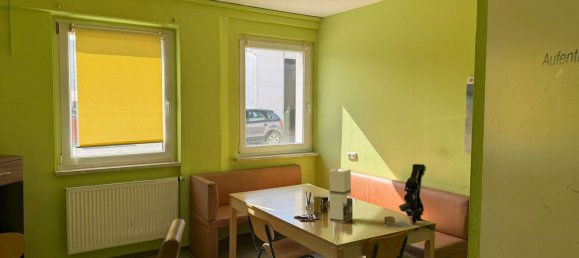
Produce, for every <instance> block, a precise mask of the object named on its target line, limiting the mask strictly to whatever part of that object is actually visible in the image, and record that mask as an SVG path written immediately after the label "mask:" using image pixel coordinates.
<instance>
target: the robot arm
mask: <svg viewBox="0 0 579 258" xmlns="http://www.w3.org/2000/svg"><path fill="white" fill-rule="evenodd" d="M411 169H412V170H411V174H410V177H409V178H407V180H406V182H405V186H404V192H406V193H405V194H404V196H403V199H404V201H405V202H404V203H401V204H399V205H398V208H399V211H401V212H403V213H405V214H406V217H407V216H412V220H413V224H412V225H416V224H415V222H416V221H417V222H418V221H424V220H423V218H422V216H423V215H424V212H425V206H424V204H423V201H422V199H421V191H422V181H423V179H422V178H423V176H425V172H426V171H427V166H426V165H425V164H423V163H422V164H421V163H413V164H412V167H411Z"/></svg>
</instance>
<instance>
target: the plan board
mask: <svg viewBox="0 0 579 258" xmlns="http://www.w3.org/2000/svg"><path fill="white" fill-rule="evenodd" d="M379 224H380V225H382V226H383V227H385V228H386V229H389V228H402V227H405V228H406V227H411V226H412V224H409V223H407V222H406V221H395V226H386V225H385V224H384V222H380V223H379Z"/></svg>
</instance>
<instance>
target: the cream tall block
mask: <svg viewBox="0 0 579 258" xmlns="http://www.w3.org/2000/svg"><path fill="white" fill-rule="evenodd" d="M351 172H352V170H351V169H349V168H348V169H347V170H339V168H334V169H330V170H329V221H330V222H331V221H335V222H334V223H339V222H341V224H345V223H347V222H349V221H351V220H352V216H349V215H344V208H345V207H347V206H348V204H347V203H348V201H347V200H348V199H347V198H348V196H349V195H351V194H352V179H351V177H352V175H351Z"/></svg>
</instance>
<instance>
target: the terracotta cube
mask: <svg viewBox="0 0 579 258" xmlns="http://www.w3.org/2000/svg"><path fill="white" fill-rule="evenodd" d="M406 223H407V224H409V225H418V220H417V221H416V222H415V224H413V220H412V216H407V215H406Z"/></svg>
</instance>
